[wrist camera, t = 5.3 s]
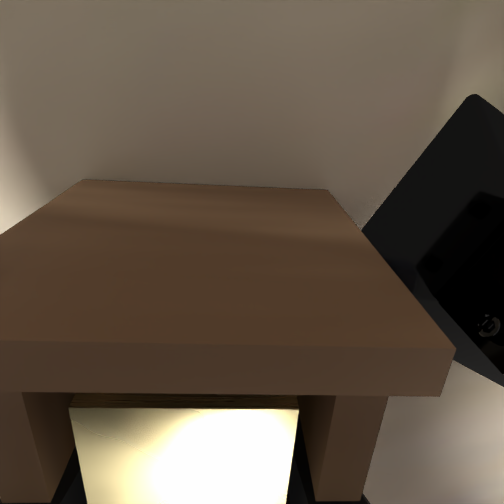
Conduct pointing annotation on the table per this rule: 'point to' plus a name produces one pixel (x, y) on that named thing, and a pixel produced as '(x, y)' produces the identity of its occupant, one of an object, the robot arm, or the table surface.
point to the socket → (204, 319)
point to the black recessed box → (454, 234)
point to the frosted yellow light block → (184, 447)
